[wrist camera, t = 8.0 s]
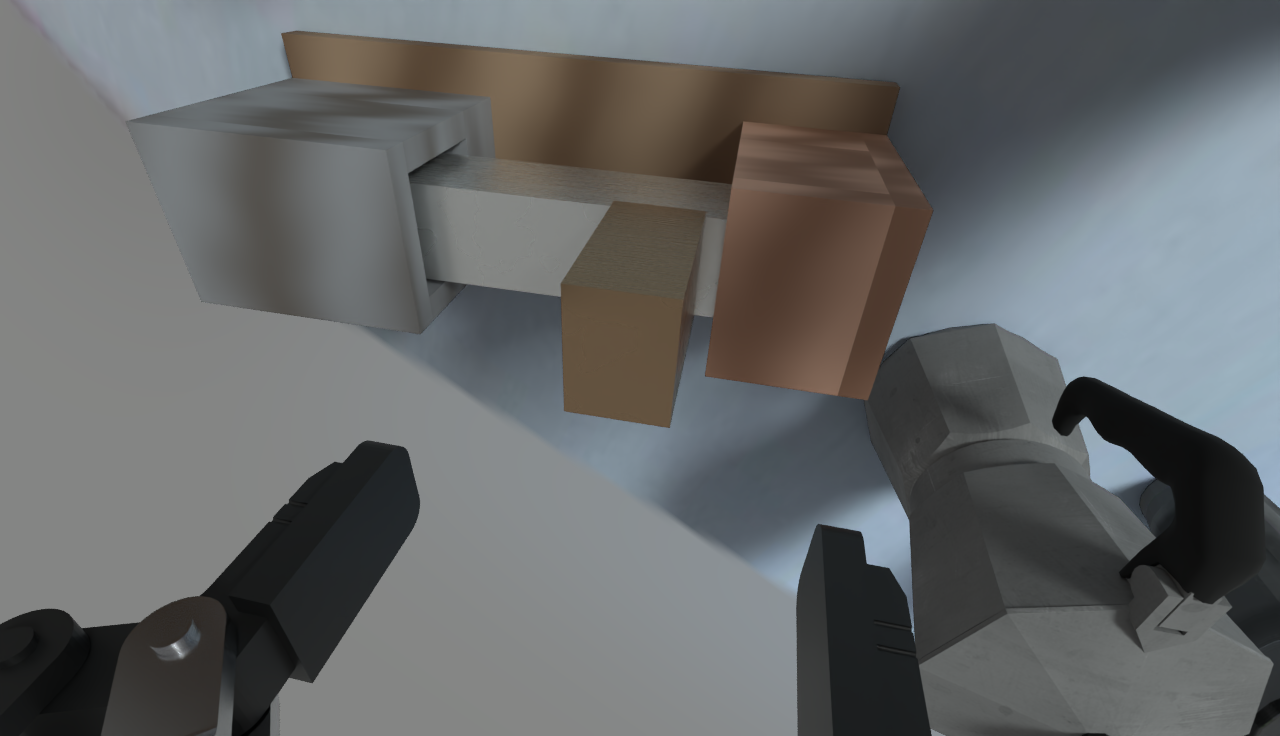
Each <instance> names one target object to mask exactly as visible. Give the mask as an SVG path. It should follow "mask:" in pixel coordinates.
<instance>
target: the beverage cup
mask: <svg viewBox="0 0 1280 736" xmlns="http://www.w3.org/2000/svg"><path fill="white" fill-rule="evenodd" d="M1139 505H1140V508H1141V511H1142V514H1143V515H1144V517H1145V518H1146V520H1147V522H1148V525H1149V527H1150V530H1151V533H1152V534H1153V535H1154V536H1155V537H1156V538H1157V537H1158V536H1159V535H1160V534H1161V533H1163V532H1164V531H1165V530H1166V529H1167V528H1168V527H1169V526H1170V525H1171V523H1172V521H1173V519H1174V517H1175V502H1174V498H1173V493H1172V489H1171V487H1170V486H1168V485H1166V484H1164V483H1162V482H1160V481H1159V480H1158V479H1157V480H1156V481H1154V482H1153V483H1152V484H1150V485H1149V486H1148V487H1147V489H1146V490H1145V491H1144V493H1143V494H1142V495H1141V500H1140V504H1139ZM1264 519H1265V549H1266V560H1265V562H1264V564H1263V566H1262V568H1261V569H1260V571H1259V573H1258V574H1256V575H1255V576H1254V577H1253V578H1251V579H1250V580H1249V581H1248V582H1246V583H1245V584H1243V585H1241V586H1240V587H1238V588H1236V589H1235V590H1233V591H1231V592H1230V593H1228V594H1226V595H1224V596H1225V598H1226V599H1227V600H1228V602H1229V603H1230V605H1231V606H1232V608H1231V609H1230V610H1229V611H1228V612H1226V614H1227V615H1228V616H1229V617H1230V618H1231V620H1232V621H1233V622H1234V623H1235V624H1236V625H1237V626H1238V627H1239V628H1240V629H1241V630H1242V631H1243V633H1244V634H1245V635H1246V636H1247V637H1248V638H1249V639H1250V640H1251V641H1252V642H1253V643H1254V644H1255V646H1256V647H1257V648H1258V649H1259V650H1260V651H1261V652H1262V653H1263V654H1264V655H1265V656H1266V657H1268V658H1270V659H1271V661H1272V662H1273V667H1272V670H1271V673H1270V676H1269V679H1268V682H1267V684H1266V687H1265V690H1264V693H1263V696H1262V699H1261V702H1260V704H1259V707H1258V710H1257V713H1256V716H1255V719H1254V722H1253V724H1252V727H1251V730H1250V733H1249V734H1247V735H1244V736H1280V508H1279V507H1277V506H1276V505H1275V504H1274V503H1273V502H1272V501H1271V500H1270V499H1269V498H1268V497H1266V496H1265V495H1264Z"/></svg>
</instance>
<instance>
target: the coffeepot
mask: <svg viewBox="0 0 1280 736" xmlns="http://www.w3.org/2000/svg"><path fill="white" fill-rule="evenodd" d="M864 404H865V409H866V415H867V421H868V426H869V432H870V438H871V442H872V444H873V446H874V448H875V450H876V452H877V454H878V457H879V459H880V461H881V463H882V465H883V467H884V469H885V471H886V473H887V475H888V477H889V479H890V481H891V484H892V486H893V488H894V490H895V492H896V494H897V496H898V498H899V500H900V502H901V504H902V506H903V508H904V510H905V513H906V515H907V517H908V519H909V523H910V545H911V567H912V589H913V611H914V633H915V647H916V658H917V659H918V663H919V669H920V674H921V680H922V685H923V691H924V696H925V702H926V707H927V713H928V719H929V724H930V729H933V730H935V731H937V732H939V733H941V734H943V735H946V736H1244V735H1247V734H1249V733H1250V730H1251V727H1252V724H1253V722H1254V719H1255V716H1256V713H1257V710H1258V707H1259V704H1260V702H1261V699H1262V696H1263V693H1264V690H1265V687H1266V684H1267V682H1268V679H1269V676H1270V673H1271V670H1272V667H1273V662H1272V661H1271V659H1270V658H1268V657H1266V656H1265V655H1264V654H1263V653H1262V652H1261V651H1260V650H1259V649H1258V648H1257V647H1256V646H1255V644H1254V643H1253V642H1252V641H1251V640H1250V639H1249V638H1248V637H1247V636H1246V635H1245V634H1244V633H1243V631H1242V630H1241V629H1240V628H1239V627H1238V626H1237V625H1236V624H1235V623H1234V622H1233V621H1232V620H1231V618H1230V617H1229V616H1228V615H1227V614H1226V612H1228V611H1229V610H1230V609H1231V608H1232V606H1231V605H1230V603H1229V602H1228V600H1227V599H1226V598H1225V596H1224V595H1226V594H1228V593H1230V592H1231V591H1233V590H1235V589H1236V588H1238V587H1240V586H1241V585H1243V584H1245V583H1246V582H1248V581H1249V580H1250V579H1251V578H1253V577H1254V576H1255V575H1256V574H1258V573H1259V571H1260V569H1261V568H1262V566H1263V564H1264V562H1265V560H1266V549H1265V519H1264V490H1263V485H1262V482H1261V480H1260V477H1259V475H1258V472H1257V469H1256V468H1255V467H1254V466H1253V465H1252V464H1251V463H1250V461H1249V460H1248V459H1247V458H1246V457H1245V456H1244V455H1243V454H1242V453H1240V452H1239V451H1238V450H1237V449H1236V448H1235V447H1233V446H1231V445H1230V444H1228V443H1227V442H1225V441H1223V440H1222V439H1220V438H1219V437H1216V436H1214V435H1212V434H1209V433H1207V432H1205V431H1202V430H1200V429H1198V428H1196V427H1193V426H1191V425H1189V424H1187V423H1185V422H1183V421H1181V420H1179V419H1176V418H1174V417H1173V416H1171V415H1169V414H1167V413H1165V412H1163V411H1161V410H1159V409H1157V408H1155V407H1153V406H1151V405H1148V404H1146V403H1144V402H1142V401H1140V400H1138V399H1136V398H1134V397H1131V396H1130V395H1128V394H1126V393H1124V392H1122V391H1120V390H1118V389H1116V388H1114V387H1112V386H1110V385H1108V384H1106V383H1104V382H1102V381H1100V380H1098V379H1096V378H1090V377H1079V378H1077V379H1075V380H1073V381H1072V382H1070V383H1069V384H1068V385H1067V387H1066V384H1065V381H1064V378H1063V375H1062V372H1061V369H1060V366H1059V363H1058V359H1056V358H1055V357H1053V356H1051V355H1049V354H1048V353H1046V352H1044V351H1042V350H1041V349H1039V348H1038V347H1036V346H1035V345H1033V344H1032V343H1030V342H1029V341H1027V340H1026V339H1024V338H1023V337H1020V336H1018V335H1016V334H1013V333H1011V332H1009V331H1007V330H1005V329H1003V328H1002V327H1000V326H998V325H996V324H984V325H973V326H962V327H952V328H947V329H943V330H939V331H935V332H931V333H929V334H926V335H924V336H920V337H914V338H910V339H909V340H908V341H907V342H905V343H904V344H903V345H902V346H901V347H900V348H899V349H897V350H896V351H895V352H894V353H893V354H892V355H891V356H889V357H888V358H887V359H886V360H885V361H884V362H883V363H882V365H881V366H880V367H879V369H878V372H877V375H876V378H875V381H874V384H873V387H872V390H871V392H870V395H869V398H868V400H864ZM1085 417H1088V419H1089V420H1090V421H1091V423H1092V425H1093V427H1094V428H1095V430H1096V431H1097V433H1098V434H1099V435H1100V436H1101V437H1102V438H1103V439H1104V440H1106V441H1108V442H1109V443H1112V444H1115V445H1118V446H1121V447H1123V448H1125V449H1126V450H1128V451H1129V452H1130V453H1132V455H1133V456H1134V457H1135V458H1136V459H1137V460H1138V461H1139V462H1140V463H1141V464H1142V465H1143V466H1144V468H1145V469H1146V470H1148V471H1149V472H1150V473H1151V474H1152V475H1153V476H1154V477H1155V478H1156V479H1158V480H1159V481H1160V482H1162V483H1164V484H1166V485H1168V486H1170V487H1171V489H1172V493H1173V498H1174V502H1175V517H1174V519H1173V521H1172V523H1171V525H1170V526H1169V527H1168V528H1167V529H1166V530H1165V531H1164V532H1163V533H1161V534H1160V535H1159V536H1158V537H1157V538H1156V537H1155V536H1154V535H1153V534H1152V533H1151V532H1150V531H1149V530H1148V529H1147V527H1146V526H1145V525H1144V524H1143V523H1142V522H1141V521H1140V520H1139V519H1138V518H1137V517H1136V516H1135V514H1134V513H1133V512H1132V511H1131V510H1130V509H1129V508H1128V507H1127V506H1126V505H1125V504H1124V503H1123V501H1122V500H1121V499H1120V498H1118V497H1117V496H1115V495H1114V494H1112V493H1110V492H1109V491H1107V490H1106V489H1104V488H1102V487H1101V486H1099V485H1097V484H1095V483H1094V482H1092V481H1091V479H1090V466H1089V455H1088V452H1087V448H1086V445H1085V442H1084V439H1083V436H1082V433H1081V430H1080V427H1079V424H1078V423H1079V422H1080V421H1081V420H1082V419H1084V418H1085Z"/></svg>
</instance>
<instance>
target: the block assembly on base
mask: <svg viewBox="0 0 1280 736" xmlns="http://www.w3.org/2000/svg"><path fill="white" fill-rule="evenodd" d="M281 35H282V39H283V42H284V46H285V50H286V54H287V58H288V62H289V66H290V69H291V73H292V77H293V78H291V79H287V80H283V81H279V82H275V83H271V84H268V85H264V86H260V87H256V88H252V89H248V90H245V91H241V92H237V93H233V94H229V95H225V96H222V97H218V98H214V99H210V100H206V101H202V102H198V103H195V104H191V105H187V106H183V107H179V108H175V109H172V110H168V111H164V112H160V113H156V114H152V115H149V116H145V117H141V118H137V119H133V120H129V121H126V124H127V127H128V129H129V132H130V134H131V136H132V139H133V141H134V143H135V146H136V148H137V151H138V153H139V155H140V158H141V160H142V162H143V165H144V167H145V169H146V171H147V174H148V177H149V179H150V181H151V184H152V186H153V188H154V191H155V193H156V195H157V198H158V200H159V203H160V205H161V207H162V209H163V212H164V214H165V217H166V219H167V221H168V224H169V226H170V228H171V231H172V233H173V236H174V238H175V240H176V243H177V245H178V247H179V250H180V252H181V255H182V257H183V259H184V262H185V264H186V266H187V269H188V271H189V273H190V276H191V278H192V280H193V283H194V285H195V288H196V290H197V292H198V295H199V297H200V300H201V302H207V303H213V304H221V305H226V306H233V307H240V308H247V309H253V310H260V311H267V312H274V313H280V314H287V315H294V316H301V317H307V318H314V319H321V320H328V321H334V322H341V323H348V324H355V325H362V326H368V327H375V328H382V329H389V330H395V331H402V332H409V333H416V334H421V333H422V332H423V331H424V330H425V329H426V328H427V327H428V326H429V325H430V324H431V323H432V322H433V320H434V319H435V318H436V317H437V316H438V315H439V314H440V313H441V312H442V311H443V310H444V309H445V307H446V306H447V305H448V304H449V303H450V302H451V301H452V300H453V299H454V298H455V297H456V296H457V294H458V293H459V292H460V291H461V290H462V289H463V288H464V287H465V286H466V285H467V284H463V283H455V282H448V281H441V280H433V279H426V276H425V270H424V264H423V258H422V253H421V247H420V241H419V235H418V229H417V224H416V218H415V212H414V206H413V200H412V194H411V189H410V183H409V177H408V173H409V172H411V171H413V170H414V169H416V168H418V167H419V166H421V165H423V164H424V163H426V162H428V161H429V160H431V159H433V158H434V157H436V156H438V155H439V154H441V153H450V154H459V155H469V156H478V157H487V158H496V159H505V160H514V161H524V162H533V163H542V164H551V165H560V166H569V167H579V168H588V169H597V170H606V171H615V172H624V173H634V174H643V175H652V176H661V177H670V178H679V179H689V180H698V181H707V182H716V183H725V184H732V188H731V195H730V202H729V209H728V216H727V223H726V230H725V237H724V245H723V252H722V259H721V266H720V273H719V280H718V287H717V294H716V301H715V308H714V315H713V323H712V330H711V337H710V344H709V351H708V358H707V365H706V372H705V376H706V377H713V378H720V379H727V380H734V381H740V382H747V383H754V384H761V385H767V386H774V387H781V388H788V389H794V390H801V391H808V392H815V393H821V394H828V395H835V396H842V397H849V398H855V399H862V400H868V398H869V395H870V392H871V390H872V387H873V384H874V381H875V378H876V375H877V372H878V369H879V366H880V363H881V361H882V358H883V355H884V352H885V349H886V346H887V343H888V340H889V337H890V335H891V332H892V329H893V326H894V323H895V320H896V317H897V314H898V311H899V309H900V306H901V303H902V300H903V297H904V294H905V291H906V288H907V285H908V282H909V280H910V277H911V274H912V271H913V268H914V265H915V262H916V259H917V256H918V254H919V251H920V248H921V245H922V242H923V239H924V236H925V233H926V230H927V228H928V225H929V222H930V219H931V216H932V213H933V209H932V207H931V206H930V204H929V203H928V201H927V199H926V198H925V196H924V194H923V193H922V191H921V190H920V188H919V186H918V185H917V183H916V182H915V180H914V178H913V177H912V175H911V174H910V172H909V170H908V169H907V167H906V165H905V164H904V162H903V161H902V159H901V157H900V156H899V154H898V153H897V151H896V149H895V148H894V146H893V145H892V143H891V141H890V140H889V138H888V136H887V133H888V129H889V126H890V122H891V118H892V115H893V111H894V108H895V104H896V100H897V97H898V93H899V90H900V87H899V86H898V84H897V83H895V82H884V81H872V80H860V79H849V78H837V77H826V76H814V75H803V74H791V73H779V72H768V71H756V70H745V69H733V68H721V67H710V66H698V65H687V64H675V63H663V62H652V61H640V60H629V59H617V58H606V57H594V56H582V55H571V54H559V53H548V52H536V51H524V50H513V49H501V48H490V47H478V46H467V45H455V44H443V43H432V42H420V41H409V40H397V39H385V38H374V37H362V36H351V35H339V34H327V33H316V32H304V31H293V32H286V33H281Z"/></svg>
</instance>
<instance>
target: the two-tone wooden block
mask: <svg viewBox="0 0 1280 736" xmlns="http://www.w3.org/2000/svg"><path fill="white" fill-rule="evenodd" d="M408 177H409V183H410V189H411V194H412V200H413V206H414V212H415V218H416V224H417V229H418V235H419V241H420V247H421V253H422V258H423V264H424V270H425V276H426V279H433V280H441V281H448V282H455V283H463V284H470V285H477V286H485V287H492V288H500V289H507V290H514V291H522V292H529V293H536V294H544V295H551V296H558V297H561V315H562V351H563V386H564V411H566V412H573V413H579V414H585V415H592V416H598V417H604V418H610V419H617V420H623V421H629V422H636V423H642V424H648V425H654V426H661V427H667V428H670V424H671V420H672V415H673V411H674V406H675V401H676V397H677V392H678V388H679V383H680V379H681V374H682V369H683V365H684V360H685V356H686V351H687V346H688V342H689V337H690V333H691V328H692V324H693V318H694V315H698V316H705V317H713V315H714V308H715V301H716V294H717V287H718V280H719V273H720V266H721V259H722V252H723V245H724V237H725V230H726V223H727V216H728V209H729V202H730V195H731V188H732V184H725V183H716V182H707V181H698V180H689V179H679V178H670V177H661V176H652V175H643V174H634V173H624V172H615V171H606V170H597V169H588V168H579V167H569V166H560V165H551V164H542V163H533V162H524V161H514V160H505V159H496V158H487V157H478V156H469V155H459V154H450V153H441V154H439V155H438V156H436V157H434V158H433V159H431V160H429V161H428V162H426V163H424V164H423V165H421V166H419V167H418V168H416V169H414V170H413V171H411V172H409V173H408Z"/></svg>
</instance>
